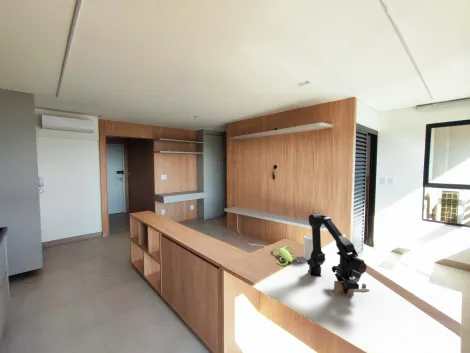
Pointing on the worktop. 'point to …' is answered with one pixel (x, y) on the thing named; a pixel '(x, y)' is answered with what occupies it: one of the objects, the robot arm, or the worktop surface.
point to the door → (341, 289)
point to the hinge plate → (360, 285)
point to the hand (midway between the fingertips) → (343, 291)
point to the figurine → (286, 255)
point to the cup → (308, 246)
